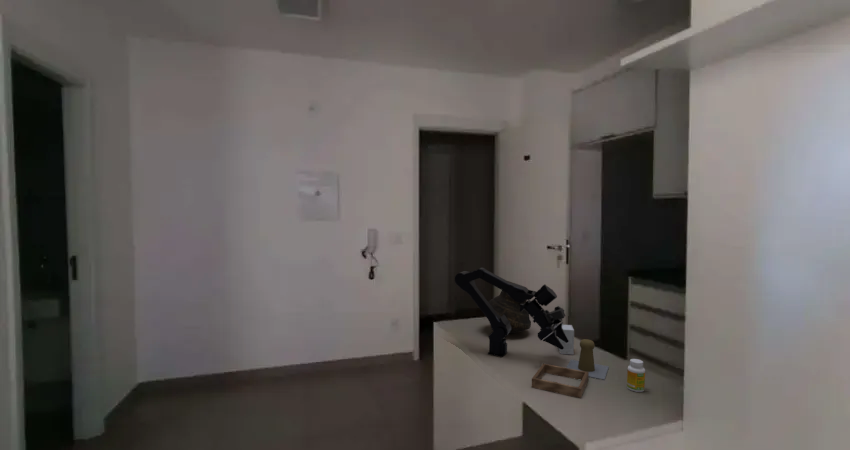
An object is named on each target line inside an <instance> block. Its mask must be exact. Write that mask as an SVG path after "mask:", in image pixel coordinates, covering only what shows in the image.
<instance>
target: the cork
mask: <svg viewBox="0 0 850 450" xmlns="http://www.w3.org/2000/svg"><path fill="white" fill-rule="evenodd" d="M579 347H580V348H581V349H580V354H579V359H578V361H579V364H578V369H580V370H582V371H586V372H593V371H595V366H594V364H595V359H594V348H595V347H596V346H595V342H594V341H593V340H591V339H587V338H586V339H585V338H584V339H583V338H582V339H581V340H580V342H579Z"/></svg>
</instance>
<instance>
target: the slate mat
mask: <svg viewBox="0 0 850 450" xmlns="http://www.w3.org/2000/svg"><path fill="white" fill-rule="evenodd" d="M578 364H579V360H575V359H570V360H569V363H568V364H567V365H566V367H565V368H570V369H575V370H580V369H578ZM594 366H595V371H593V372H589V377H588V378H590V377H591V378H590V379H595V378H596V379H595V380H600V379H602V380H601V381H605V380H606V377H607V374H608V371H609V368H610V366H609V365H603V364H599V363H594ZM580 371H582V370H580ZM585 372H586V371H585Z"/></svg>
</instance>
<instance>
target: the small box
mask: <svg viewBox="0 0 850 450" xmlns="http://www.w3.org/2000/svg"><path fill="white" fill-rule="evenodd" d="M562 329H563V331H564V333H565V335H566V337H567V339H568V342H567V343H566V342H564V341H563V340H561V339H560V338H558V337H557V338H558V339H559V341H560V342H561V344H562V345H563V347H564V349H562V350H561V349H559V348H557V349H558V351H559V354H560V355H575V354H574V353H575V329H574V327H573V325H572V324H562Z"/></svg>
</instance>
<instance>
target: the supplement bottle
mask: <svg viewBox="0 0 850 450" xmlns="http://www.w3.org/2000/svg"><path fill="white" fill-rule="evenodd" d="M626 375H627V376H626V378H627V379H626V388H627V389H628V390H630V391H632V392H635V393H642V392H644V391H645V387H646V386H645V385H646V383H645V382H646V369H645V367H644V361H643V360H641V359H638V358H631V359H630V360H629V365H628V366H627V374H626Z"/></svg>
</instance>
